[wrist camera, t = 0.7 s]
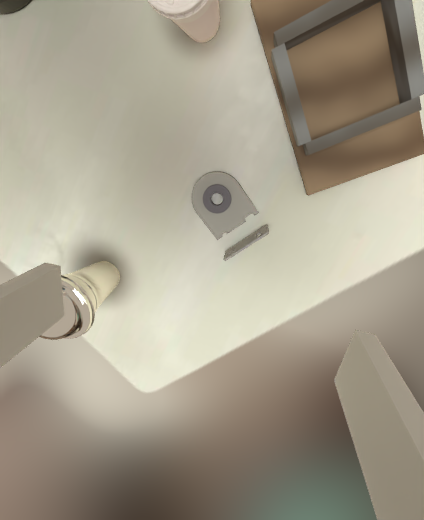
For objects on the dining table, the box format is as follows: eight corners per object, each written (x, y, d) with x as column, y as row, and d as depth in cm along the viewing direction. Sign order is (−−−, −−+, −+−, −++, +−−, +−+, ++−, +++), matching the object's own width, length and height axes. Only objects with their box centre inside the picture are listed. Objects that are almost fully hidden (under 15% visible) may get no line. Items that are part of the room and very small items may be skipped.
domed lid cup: (124, 307, 43) (19, 417, 25) (73, 284, 44) (-68, 376, 25) (138, 262, 40) (29, 350, 22) (83, 237, 40) (-71, 303, 22)
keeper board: (251, 5, 27) (249, -17, 24) (380, -72, 24) (398, -110, 21) (306, 194, 32) (311, 198, 29) (420, 153, 29) (440, 152, 26)
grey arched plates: (223, 160, 33) (219, 160, 30) (268, 226, 35) (269, 233, 32) (183, 192, 36) (175, 195, 32) (227, 253, 37) (224, 261, 34)
